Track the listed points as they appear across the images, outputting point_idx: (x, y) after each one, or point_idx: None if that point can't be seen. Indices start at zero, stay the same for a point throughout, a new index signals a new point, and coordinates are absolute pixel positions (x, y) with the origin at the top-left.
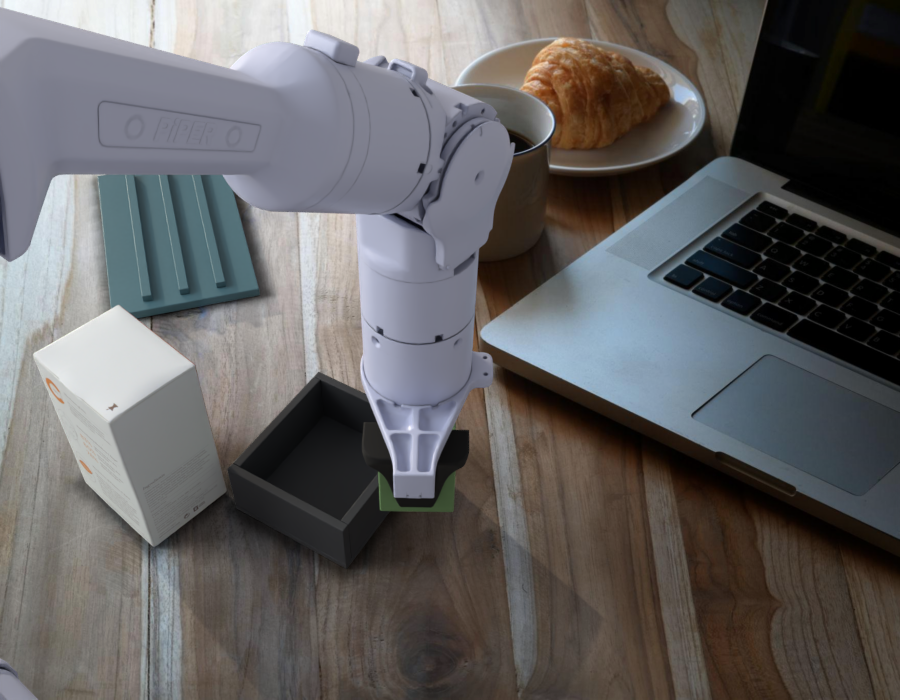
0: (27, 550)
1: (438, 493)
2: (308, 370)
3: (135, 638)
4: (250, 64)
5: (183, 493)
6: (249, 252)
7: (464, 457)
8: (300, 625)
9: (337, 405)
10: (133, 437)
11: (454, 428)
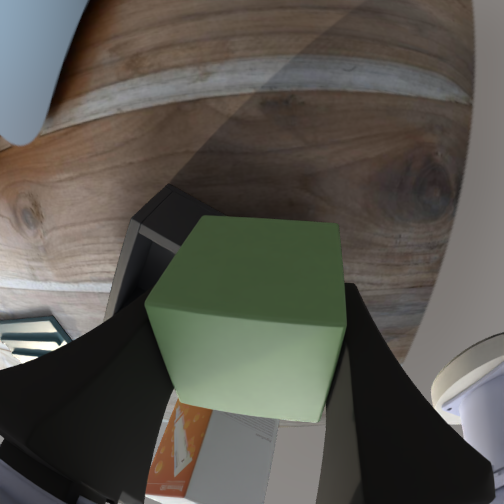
0: (284, 422)
1: (371, 317)
2: (96, 290)
3: None
4: None
5: None
6: (29, 321)
7: (490, 499)
8: (370, 302)
9: (128, 290)
10: (255, 492)
11: (205, 314)
